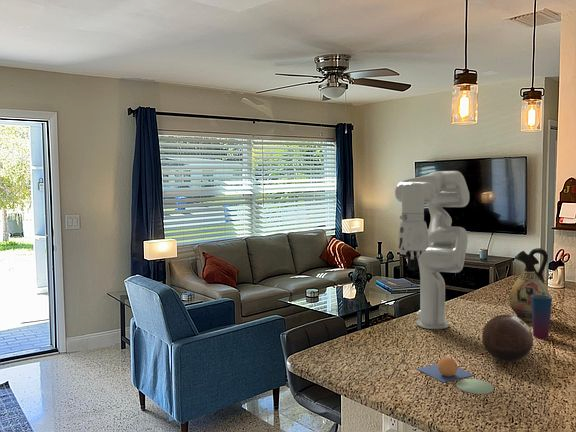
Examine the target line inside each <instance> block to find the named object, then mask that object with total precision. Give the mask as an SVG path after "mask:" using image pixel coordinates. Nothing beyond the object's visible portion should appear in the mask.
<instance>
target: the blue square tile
mask: <svg viewBox="0 0 576 432" xmlns="http://www.w3.org/2000/svg"><path fill="white" fill-rule="evenodd" d="M416 370H417V371H419V372H421V373H423V374H425V375H427V376H429V377H431V378H433V379H435V380H437V381H439V382H441V383H443V384H445V383H449V382H453V381H459V380H463V379H467V378H470V377H474V376H475V374H474V373H471V372H469V371H467V370H465V369H462V368H461V367H458V369H457V372H456V374H455V375H453V376H451V377H446V376H444V375H442V374H441V373H440V371H439V369H438V363H436V364H431V365H427V366H423V367H422V366H421V367H418V368H416Z"/></svg>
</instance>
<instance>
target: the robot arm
mask: <svg viewBox="0 0 576 432" xmlns="http://www.w3.org/2000/svg"><path fill="white" fill-rule="evenodd" d="M394 194H395V195H394V196H395V199H396V200H397V201H398V202H399V203H401V215H400V216H399V219H400V220H401V222H400V223H399V229H398V230H399V231H398V249H399V254H400V255H405V257H406V259H407V269H408V270H409V271H413V272H414V271H418V270H419V279H420V281H419V282H420V283H419V286H420V287H419V289H420V290H419V292H420V293H419V294H420V299H419V301H420V305H419V306H420V309H419V310H418V311H417V312H415V316H417V317H418V319H417V320H416V321H415V322H416V325H417V327H419V328H423V329H427V330H443V329H447V328H449V327H450V323H449V321H447V320H446V283H445V279H444V277H443V275H442V274H441V273H456V274H458V273H460V272H461V271H462V270H463V268H464V264H465V260H466V259H465V258H466V252H467V247H468V241H469V239H468V231H467V230H466V229H465V228H464V227H462V226H452V223H453V220H452V217H451V216H450V214H449V213H448V211H446V209H444V208H465V207H466V206H467V205H468V204H469V202H470V191H469V189H468V184H467V182H466V179H465V177H464V175H463V174H462V172H460V171H459V170H438V171H437V170H436V171H432V172H431V173H429V174H426V175H421V176H418V177H412V178H407V179H404V180H402V181H399V182H398V184H397V185H396V186H395V190H394ZM425 203H426V204H427V209H428V212H429V214H430V220H429V221H430V222H429V226H428V225H427V222H426V221H425V212H424V211H425ZM418 268H419V269H418Z"/></svg>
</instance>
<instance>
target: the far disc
mask: <svg viewBox="0 0 576 432" xmlns="http://www.w3.org/2000/svg"><path fill="white" fill-rule="evenodd" d="M455 386H456V387H457V388H458V389H459V390H460V391H463V392H465V393H469V394H473V395H486V394H490V393H492V392H493V391H494V389H495V388H494V386H493V384H491V383H489V382H487V381H485V380H481V379H478V378H477V379H475V378H462V379H459V380H457V382H456V384H455Z"/></svg>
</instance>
